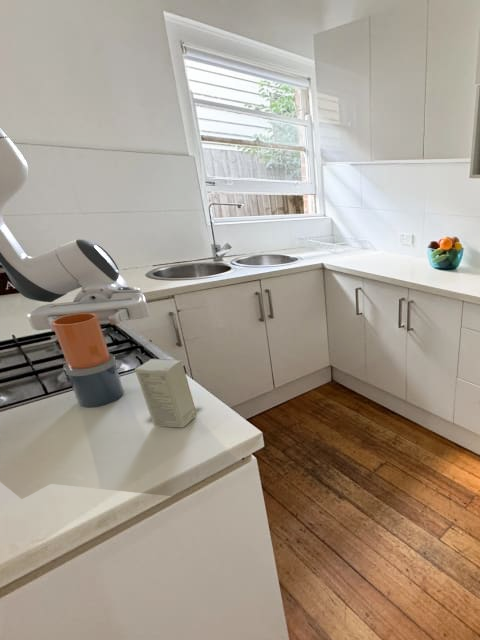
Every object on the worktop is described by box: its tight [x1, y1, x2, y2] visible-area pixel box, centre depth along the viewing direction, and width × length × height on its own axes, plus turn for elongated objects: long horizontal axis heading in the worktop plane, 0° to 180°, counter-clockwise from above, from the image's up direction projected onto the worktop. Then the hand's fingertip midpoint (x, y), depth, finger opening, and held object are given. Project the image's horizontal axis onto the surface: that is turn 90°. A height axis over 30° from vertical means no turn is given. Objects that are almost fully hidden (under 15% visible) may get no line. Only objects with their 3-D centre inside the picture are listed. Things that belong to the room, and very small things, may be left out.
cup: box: [52, 313, 111, 369], centre depth 74 cm, size 7×7×9 cm
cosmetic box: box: [134, 358, 198, 428], centre depth 70 cm, size 6×4×12 cm
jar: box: [62, 352, 125, 408], centre depth 77 cm, size 8×8×8 cm
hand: (85, 324), depth 77 cm, fingers open, 8 cm apart
